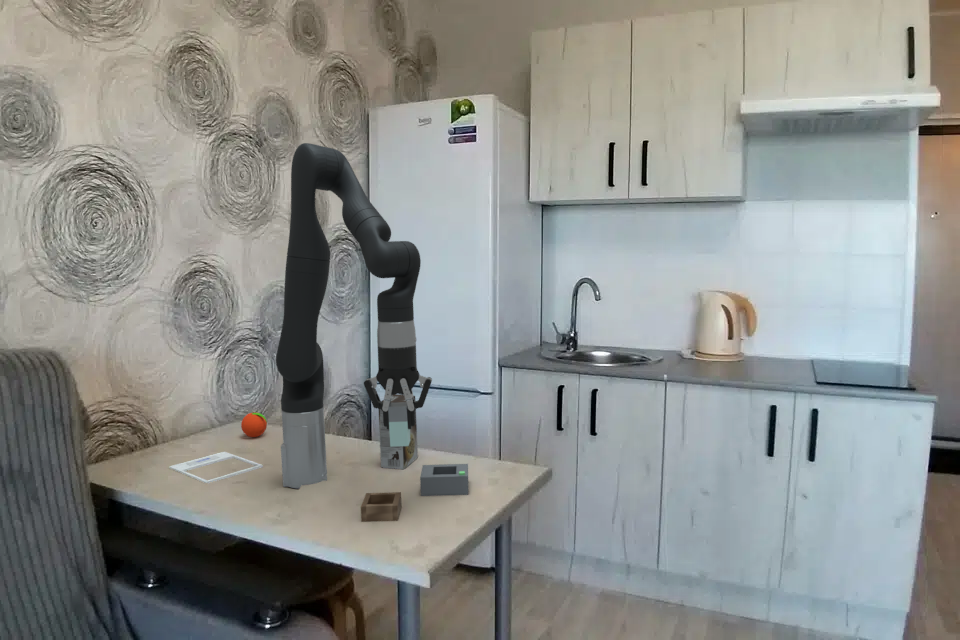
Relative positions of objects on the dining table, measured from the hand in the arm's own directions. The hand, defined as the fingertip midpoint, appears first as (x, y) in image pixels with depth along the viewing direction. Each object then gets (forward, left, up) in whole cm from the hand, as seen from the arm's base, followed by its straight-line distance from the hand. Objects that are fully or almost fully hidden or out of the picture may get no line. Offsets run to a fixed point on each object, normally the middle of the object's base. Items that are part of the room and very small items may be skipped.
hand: (399, 427), depth 139 cm
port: (+8, +9, -17) cm, 21 cm away
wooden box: (-4, -4, -17) cm, 18 cm away
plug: (0, 0, -3) cm, 3 cm away
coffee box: (-4, +30, -17) cm, 35 cm away
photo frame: (-49, +30, -18) cm, 60 cm away
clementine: (-47, +56, -17) cm, 75 cm away
